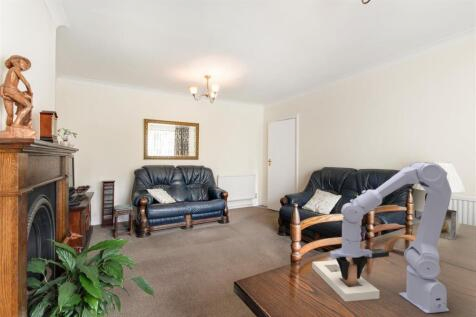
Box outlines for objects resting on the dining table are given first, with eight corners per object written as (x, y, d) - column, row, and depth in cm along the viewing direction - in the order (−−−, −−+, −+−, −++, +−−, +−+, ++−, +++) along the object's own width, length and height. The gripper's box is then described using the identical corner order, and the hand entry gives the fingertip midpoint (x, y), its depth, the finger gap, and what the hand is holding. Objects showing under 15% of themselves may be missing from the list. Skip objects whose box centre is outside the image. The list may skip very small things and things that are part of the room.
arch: (433, 269, 93) (433, 245, 93) (384, 251, 111) (384, 230, 111) (440, 267, 95) (441, 243, 95) (391, 249, 113) (391, 229, 113)
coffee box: (431, 235, 135) (431, 208, 135) (437, 233, 137) (437, 207, 137) (450, 240, 126) (451, 211, 126) (456, 238, 129) (456, 210, 129)
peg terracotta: (359, 285, 77) (359, 266, 77) (348, 286, 76) (348, 267, 76) (352, 279, 81) (352, 261, 81) (341, 280, 80) (341, 261, 80)
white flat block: (379, 298, 73) (379, 290, 73) (345, 301, 71) (345, 293, 71) (339, 266, 95) (339, 260, 95) (312, 267, 93) (312, 261, 93)
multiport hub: (355, 255, 106) (355, 250, 106) (381, 253, 109) (381, 248, 109) (363, 260, 102) (363, 254, 102) (389, 257, 105) (389, 252, 105)
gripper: (362, 233, 83) (361, 270, 83) (325, 235, 81) (324, 273, 81) (376, 240, 76) (376, 281, 76) (336, 242, 74) (336, 284, 74)
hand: (350, 277), depth 78 cm, fingers closed on peg terracotta, 4 cm apart
